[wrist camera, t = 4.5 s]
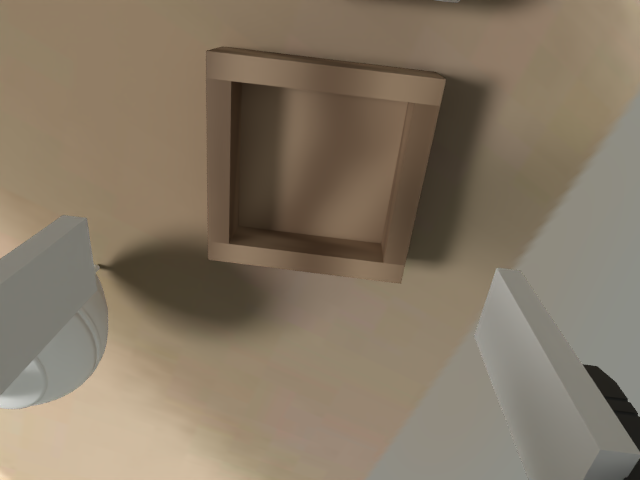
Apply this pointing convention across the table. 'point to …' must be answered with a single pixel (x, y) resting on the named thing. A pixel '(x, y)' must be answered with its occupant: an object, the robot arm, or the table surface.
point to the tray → (316, 161)
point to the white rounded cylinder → (454, 0)
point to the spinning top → (63, 357)
